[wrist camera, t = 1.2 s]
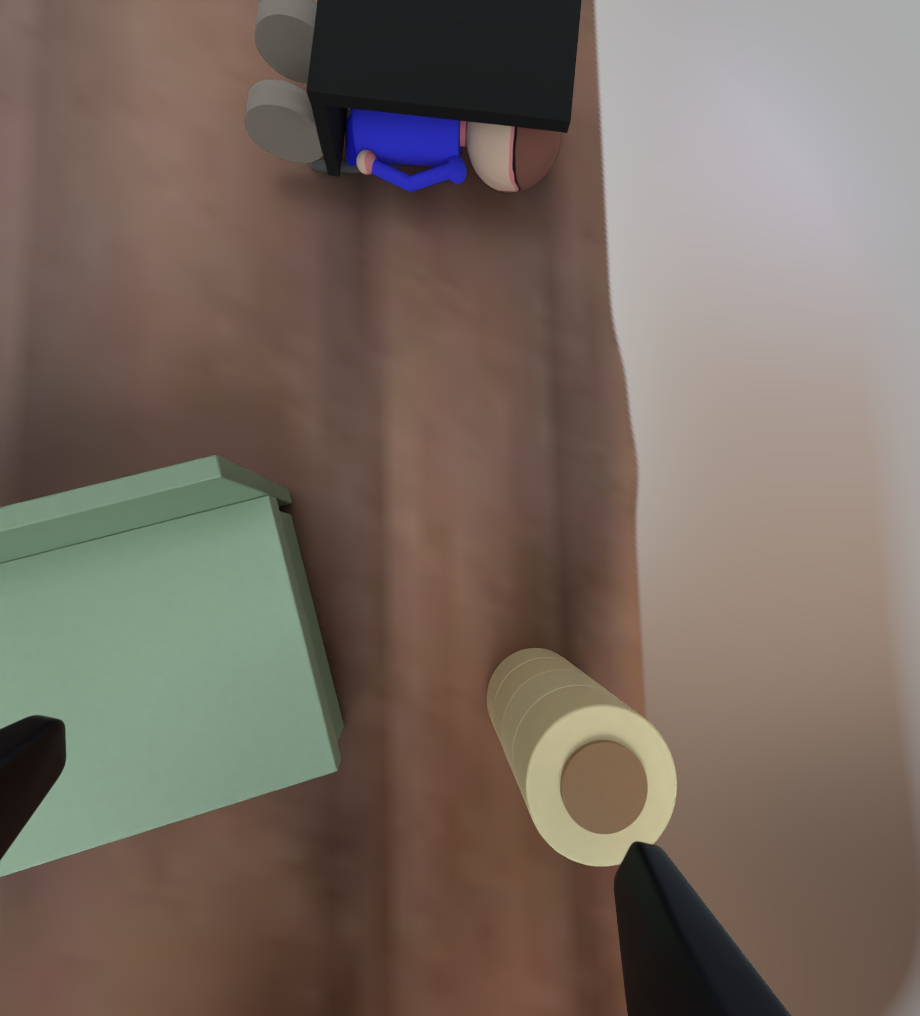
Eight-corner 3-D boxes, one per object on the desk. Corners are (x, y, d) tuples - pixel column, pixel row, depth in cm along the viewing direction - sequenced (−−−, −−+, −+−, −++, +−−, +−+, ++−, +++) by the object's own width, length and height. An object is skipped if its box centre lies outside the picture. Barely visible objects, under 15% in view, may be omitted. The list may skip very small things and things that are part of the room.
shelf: (351, 736, 24) (310, 842, 16) (-34, 854, 23) (-329, 1050, 14) (288, 488, 25) (216, 453, 16) (-87, 583, 24) (-398, 603, 15)
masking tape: (538, 769, 25) (612, 906, 15) (466, 701, 25) (494, 796, 15) (601, 693, 26) (711, 779, 16) (531, 627, 26) (598, 673, 16)
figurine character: (285, 217, 28) (550, 230, 27) (213, 93, 20) (578, 106, 20) (297, 109, 29) (557, 119, 28) (233, -51, 21) (586, -42, 20)
